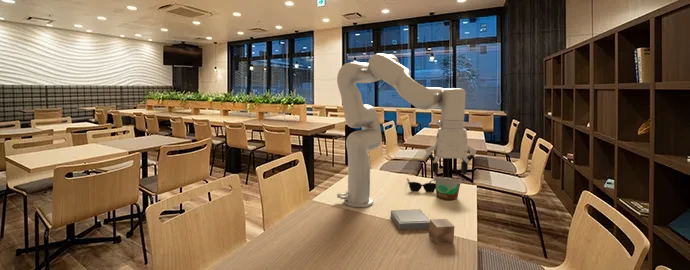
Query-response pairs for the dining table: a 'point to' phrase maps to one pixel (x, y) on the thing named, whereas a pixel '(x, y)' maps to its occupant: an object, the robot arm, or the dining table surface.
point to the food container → (447, 188)
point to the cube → (441, 231)
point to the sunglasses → (417, 186)
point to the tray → (410, 219)
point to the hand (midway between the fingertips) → (449, 173)
